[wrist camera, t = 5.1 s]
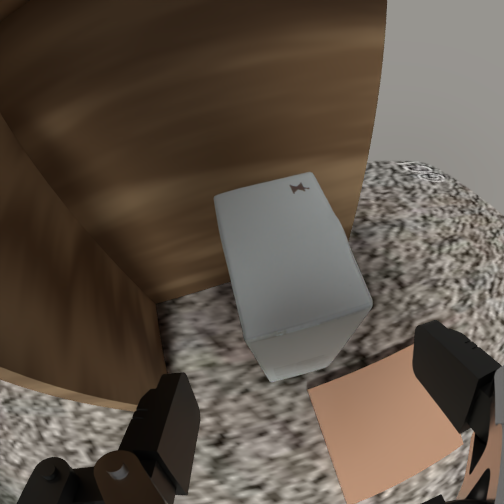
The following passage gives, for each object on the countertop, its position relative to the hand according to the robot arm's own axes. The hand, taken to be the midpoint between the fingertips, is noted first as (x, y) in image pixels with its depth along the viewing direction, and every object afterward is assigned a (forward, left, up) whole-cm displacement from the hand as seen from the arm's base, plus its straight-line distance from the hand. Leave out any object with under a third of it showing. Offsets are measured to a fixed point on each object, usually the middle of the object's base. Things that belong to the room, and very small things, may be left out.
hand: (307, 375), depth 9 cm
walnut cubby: (-6, 0, -10) cm, 12 cm away
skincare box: (-4, +1, -10) cm, 11 cm away
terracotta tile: (+4, +5, -10) cm, 12 cm away
